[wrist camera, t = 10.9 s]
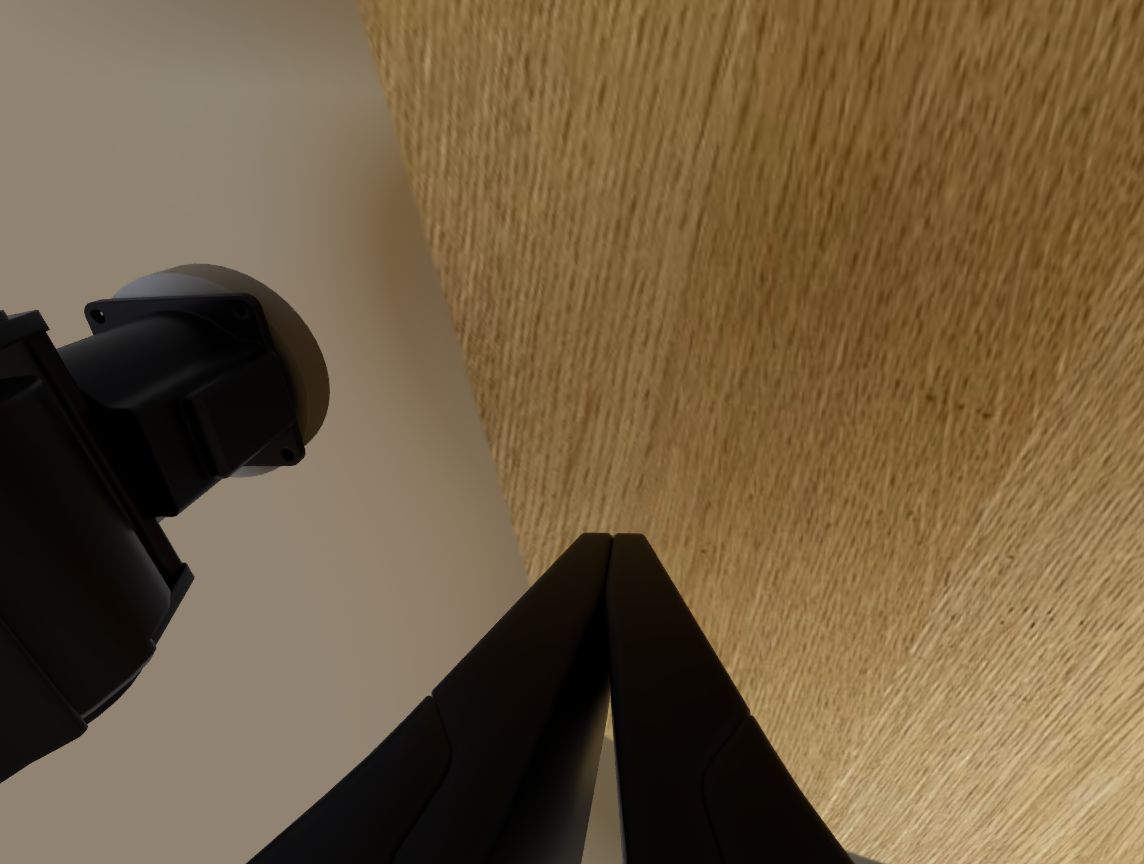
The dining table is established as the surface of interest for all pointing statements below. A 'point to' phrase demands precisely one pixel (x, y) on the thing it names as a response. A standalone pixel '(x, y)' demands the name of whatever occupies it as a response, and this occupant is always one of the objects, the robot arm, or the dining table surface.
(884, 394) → the dining table surface
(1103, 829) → the dining table surface
